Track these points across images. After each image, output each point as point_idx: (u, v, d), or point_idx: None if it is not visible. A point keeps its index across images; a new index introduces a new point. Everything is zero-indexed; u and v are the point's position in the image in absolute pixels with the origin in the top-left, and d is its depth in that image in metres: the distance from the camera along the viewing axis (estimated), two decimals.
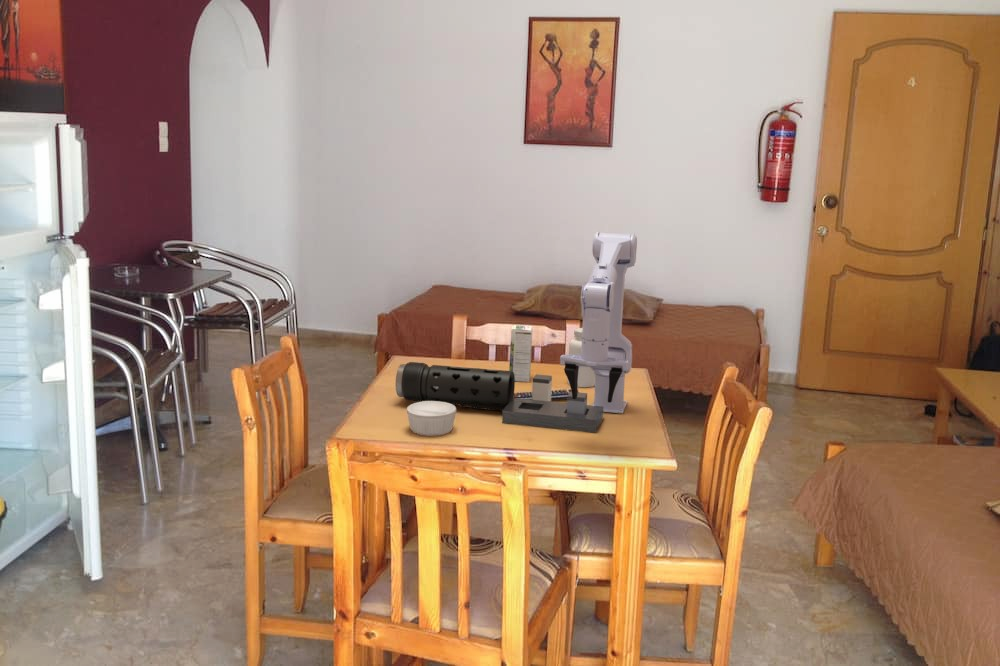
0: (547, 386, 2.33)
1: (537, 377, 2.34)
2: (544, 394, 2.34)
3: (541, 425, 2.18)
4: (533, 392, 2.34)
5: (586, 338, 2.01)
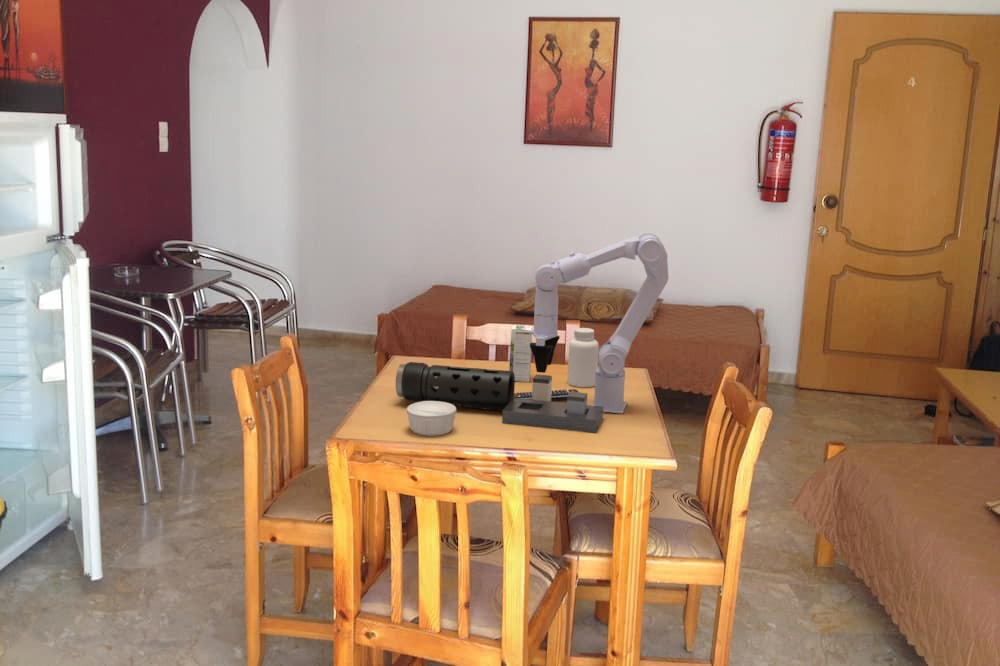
0: (547, 386, 2.33)
1: (537, 377, 2.34)
2: (544, 394, 2.34)
3: (541, 425, 2.18)
4: (533, 392, 2.34)
5: None
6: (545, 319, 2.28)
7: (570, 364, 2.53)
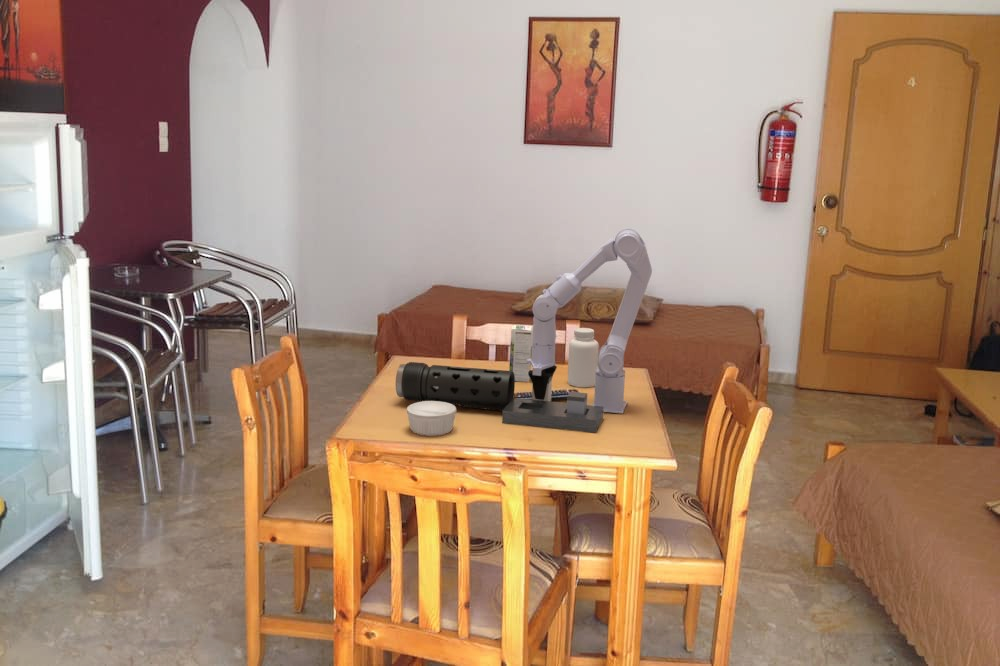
0: (547, 386, 2.33)
1: None
2: None
3: (541, 425, 2.18)
4: (533, 392, 2.34)
5: None
6: (542, 349, 2.30)
7: (570, 364, 2.53)
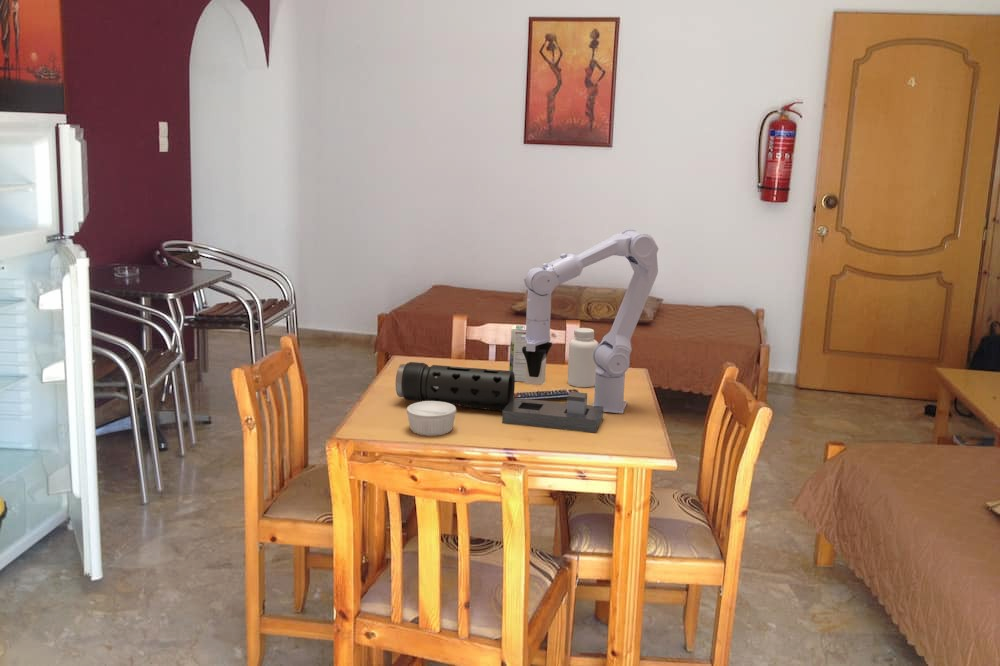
0: (541, 363, 2.25)
1: None
2: None
3: (541, 425, 2.18)
4: (526, 370, 2.26)
5: None
6: (537, 324, 2.22)
7: (570, 364, 2.53)
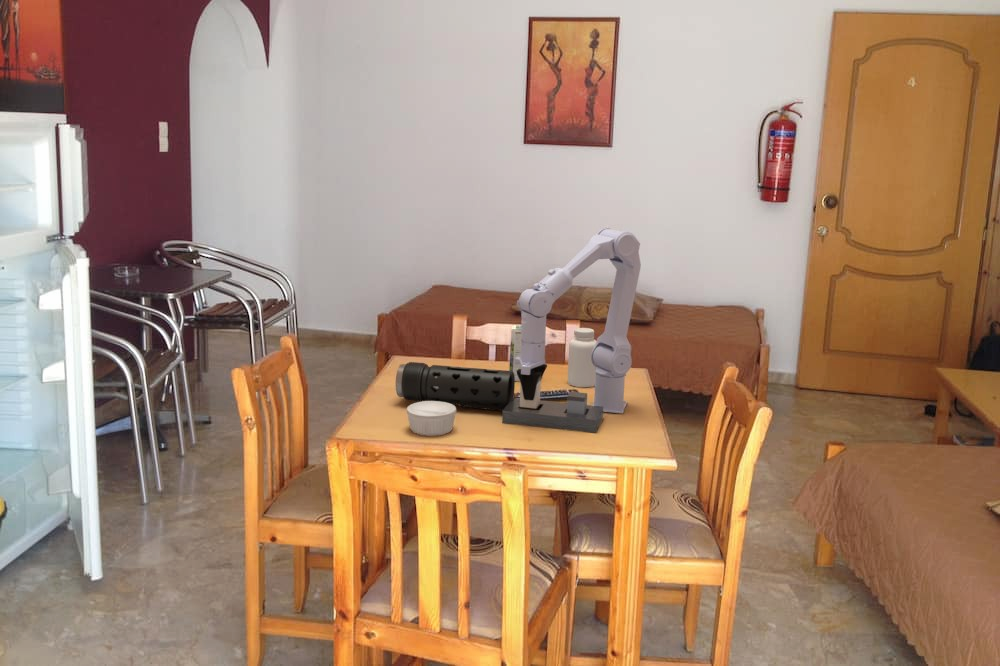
0: (536, 386, 2.20)
1: None
2: None
3: (541, 425, 2.18)
4: (521, 393, 2.22)
5: None
6: (531, 346, 2.18)
7: (570, 364, 2.53)
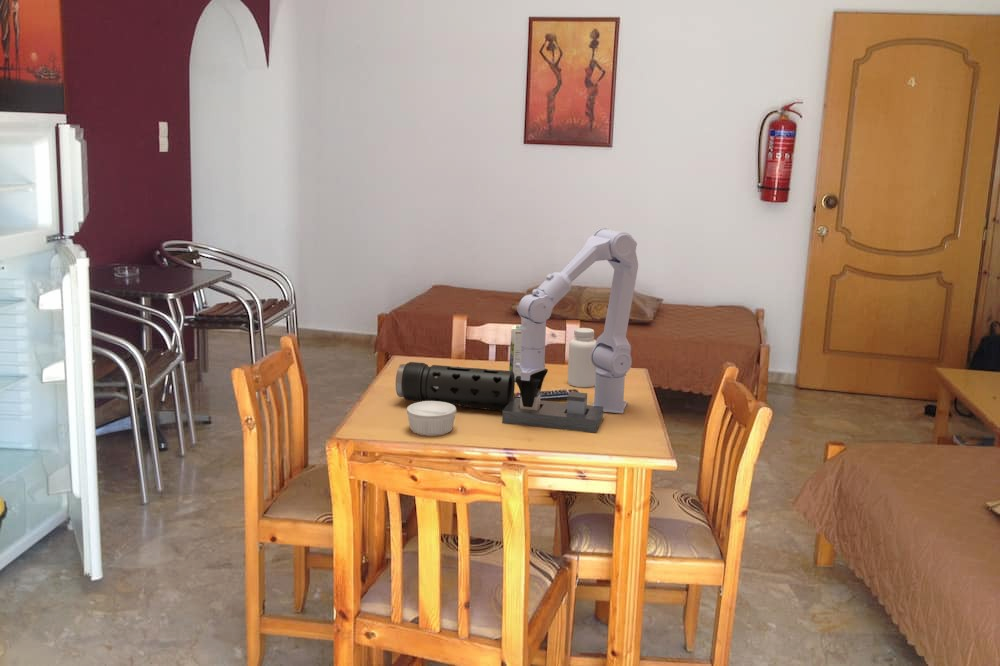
0: (535, 400, 2.21)
1: None
2: (532, 408, 2.22)
3: (541, 425, 2.18)
4: (521, 406, 2.22)
5: None
6: (531, 352, 2.18)
7: (570, 364, 2.53)
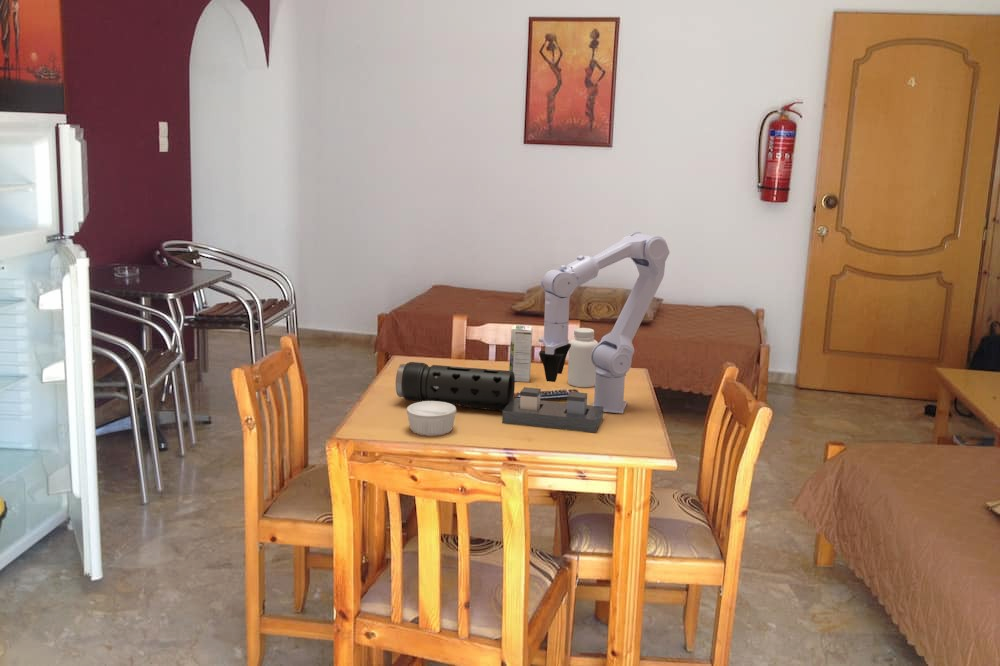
0: (535, 400, 2.21)
1: (525, 390, 2.23)
2: (532, 408, 2.22)
3: (541, 425, 2.18)
4: (521, 406, 2.22)
5: None
6: (555, 326, 2.20)
7: (570, 364, 2.53)
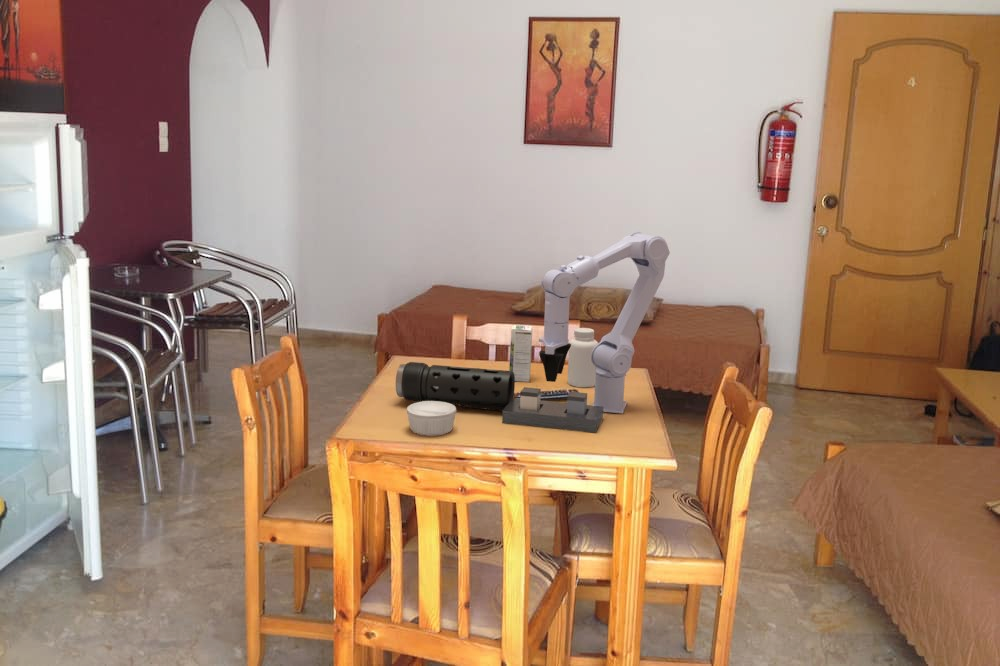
0: (535, 400, 2.21)
1: (525, 390, 2.23)
2: (532, 408, 2.22)
3: (541, 425, 2.18)
4: (521, 406, 2.22)
5: (544, 319, 2.23)
6: (555, 326, 2.20)
7: (570, 364, 2.53)
